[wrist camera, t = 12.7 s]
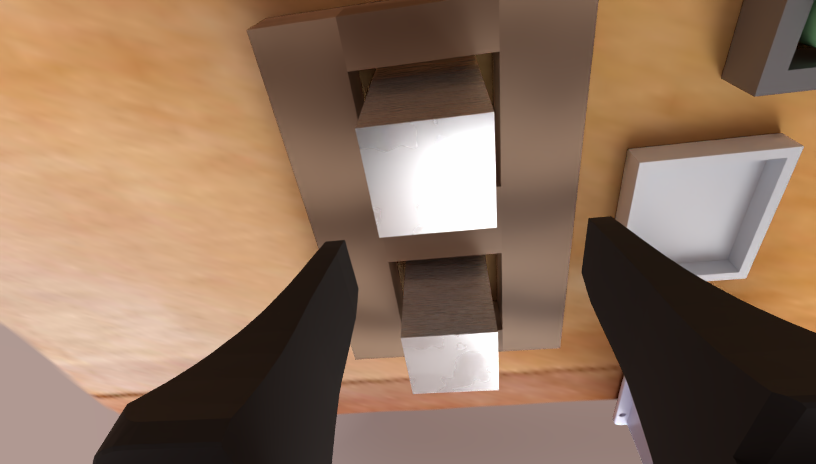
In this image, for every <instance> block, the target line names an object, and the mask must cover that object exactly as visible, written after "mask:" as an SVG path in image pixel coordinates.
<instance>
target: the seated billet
mask: <svg viewBox="0 0 816 464" xmlns="http://www.w3.org/2000/svg"><path fill="white" fill-rule="evenodd" d="M401 342H402V346H403V351H404V355H405V360H406V365H407V369H408V374H409V378H410V383H411V387H412V392H413V394H419V393H442V392H464V391H487V390H499V369H498V331H497V325H496V319H495V313H494V307H493V301H492V295H491V289H490V283H489V277H488V271H487V265H486V259H485V254H483V255H471V256H458V257H446V258H434V259H421V260H409V261H406V266H405V280H404V295H403V310H402V325H401Z"/></svg>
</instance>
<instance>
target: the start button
mask: <svg viewBox="0 0 816 464" xmlns="http://www.w3.org/2000/svg"><path fill="white" fill-rule="evenodd" d="M799 43H802V44H805V45H808V46H811V47H814V48H816V0H814V2H813V4H812V7H811V10H810V12H809V15H808V18H807V20H806V23H805V26H804V28H803V31H802V34H801V37H800V39H799Z"/></svg>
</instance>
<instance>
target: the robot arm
mask: <svg viewBox="0 0 816 464" xmlns="http://www.w3.org/2000/svg"><path fill="white" fill-rule="evenodd" d="M582 275H583V279H584V282H585V286H586V289H587V292H588V295H589V298H590V302H591V304H592V306H593V308H594V311H595V313H596V315H597V317H598V319H599V322H600V324H601V326H602V328H603V330H604V332H605V334H606V337H607V339H608V341H609V343H610V345H611V347H612V349H613V352H614V354H615V356H616V358H617V360H618V362H619V364H620V367H621V369H622V371H623V374H624V377H623V381H622V385H621V388H620V392H619V396H618V400H617V404H616V408H615V411H614V415H613V421H614V423H615V424H617V425H628V427H629V430H630V432H631V435H632V437H633V440H634V442H635V445H636V447H637V450H638V452H639V455H640V457H641V460H642V463H643V464H816V333H815V332H812V331H810V330H807V329H805V328H802V327H800V326H797V325H795V324H792V323H790V322H788V321H785V320H783V319H781V318H779V317H776V316H774V315H772V314H770V313H767V312H765V311H763V310H761V309H758V308H756V307H754V306H752V305H750V304H748V303H746V302H744V301H742V300H740V299H738V298H736V297H734V296H732V295H730V294H729V293H727V292H725V291H723V290H721V289H719V288H717V287H715V286H714V285H712V284H710V283H708V282H706V281H705V280H703V279H701V278H700V277H698V276H697V275H695V274H693V273H692V272H690V271H688V270H687V269H685V268H684V267H682V266H680V265H679V264H677V263H676V262H674V261H673V260H671V259H670V258H668V257H667V256H665V255H664V254H662V253H661V252H660V251H658V250H657V249H655V248H654V247H652V246H651V245H650V244H648V243H647V242H645V241H644V240H643V239H641V238H640V237H639V236H637V235H636V234H635V233H633V232H632V231H630V230H629V229H628V228H626V227H625V226H624V225H622V224H621V223H620V222H618V221H617V220H615V219H614V218H612V217H611V216H610V217H599V218H589V219H588V227H587V234H586V242H585V250H584V257H583V265H582ZM358 290H359V288H358V285H357V281H356V278H355V274H354V270H353V267H352V263H351V260H350V256H349V253H348V249H347V246H346V242H345V240H337V241H326V242H325V243H324V244H323V245H322V246H321V248H320V249H319V250H318V251H317V252H316V253H315V255H314V256H313V257H312V258H311V259H310V261H309V262H308V263H307V264H306V265H305V267H304V268H303V269H302V270H301V271H300V272H299V274H298V275H297V276H296V277H295V278H294V279H293V280H292V282H291V283H290V284H289V285H288V286H287V287H286V288H285V289H284V290H283V291H282V292H281V293H280V294H279V295H278V297H277V298H276V299H275V300H274V301H273V302H272V303H271V304H270V305H269V306H268V307H267V308H266V309H265V310H264V311H263V312H262V313H261V314H259V315H258V316H257V317H256V318H255V319H254V320H253V321H252V322H250V323H249V324H248V325H247V326H246V327H245V328H244V329H242V330H241V331H240V332H239V333H238V334H236V335H235V336H234V337H232V338H231V339H230V340H228V341H227V342H226V343H224V344H223V345H222V346H220V347H219V348H218V349H217V350H215V351H214V352H213V353H211V354H210V355H208V356H207V357H206V358H204V359H203V360H201V361H200V362H198V363H197V364H195V365H194V366H192V367H191V368H189V369H187V370H186V371H184V372H183V373H181V374H180V375H178V376H176V377H175V378H173V379H171V380H170V381H168V382H166V383H165V384H163V385H161V386H159V387H158V388H156V389H154V390H152V391H150V392H149V393H147V394H145V395H143V396H142V397H140V398H138V399H136V400H134V401H132V402H130V403H129V404H127V406H126V407H125V409H124V410H123V412H122V413H121V415H120V416H119V418H118V420H117V421H116V423H115V424H114V426H113V428H112V429H111V431H110V432H109V434H108V436H107V437H106V439H105V440H104V442H103V443H102V445H101V447H100V448H99V450H98V451H97V453H96V455H95V456H94V460H93V464H332V455H333V444H334V435H335V425H336V417H337V409H338V400H339V393H340V388H341V382H342V378H343V373H344V369H345V364H346V360H347V356H348V351H349V347H350V343H351V338H352V334H353V329H354V325H355V320H356V313H357V303H358Z"/></svg>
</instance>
